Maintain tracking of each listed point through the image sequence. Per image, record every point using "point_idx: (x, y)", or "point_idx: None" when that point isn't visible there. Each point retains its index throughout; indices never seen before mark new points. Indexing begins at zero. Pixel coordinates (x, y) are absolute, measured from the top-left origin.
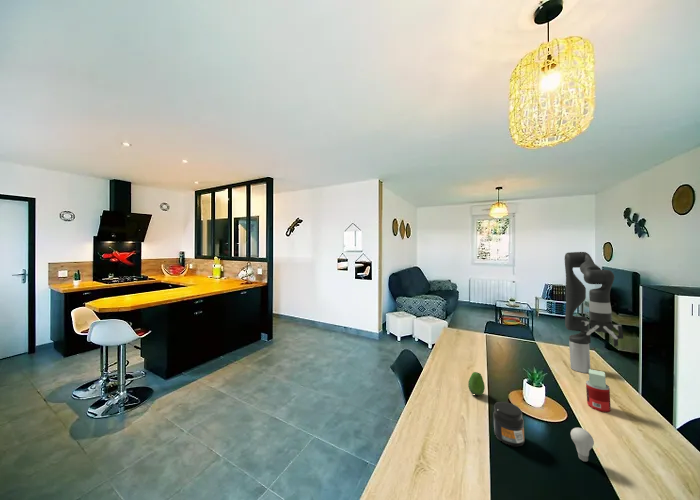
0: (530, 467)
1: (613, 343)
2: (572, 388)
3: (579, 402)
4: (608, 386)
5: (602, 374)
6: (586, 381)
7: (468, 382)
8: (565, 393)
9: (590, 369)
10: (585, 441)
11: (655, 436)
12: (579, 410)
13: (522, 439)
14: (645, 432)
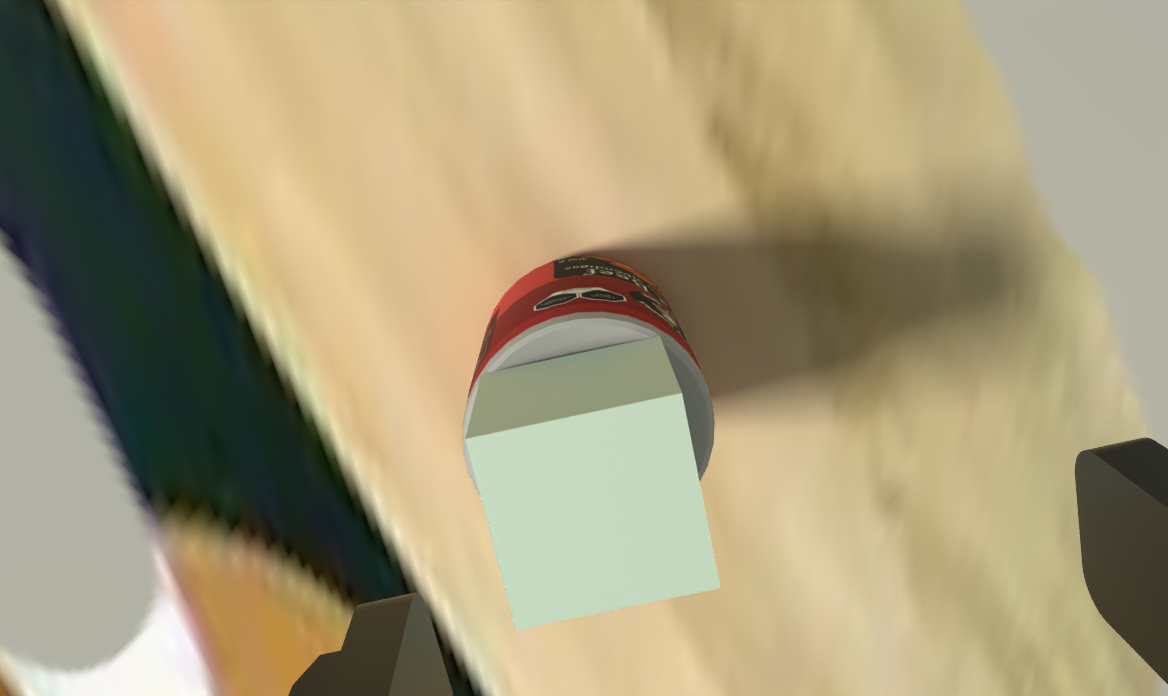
0: None
1: (1122, 492)
2: (252, 50)
3: (424, 384)
4: (703, 400)
5: (675, 531)
6: (468, 456)
7: None
8: (255, 278)
9: (492, 443)
10: None
11: (982, 512)
12: (474, 558)
13: None
14: (924, 507)
